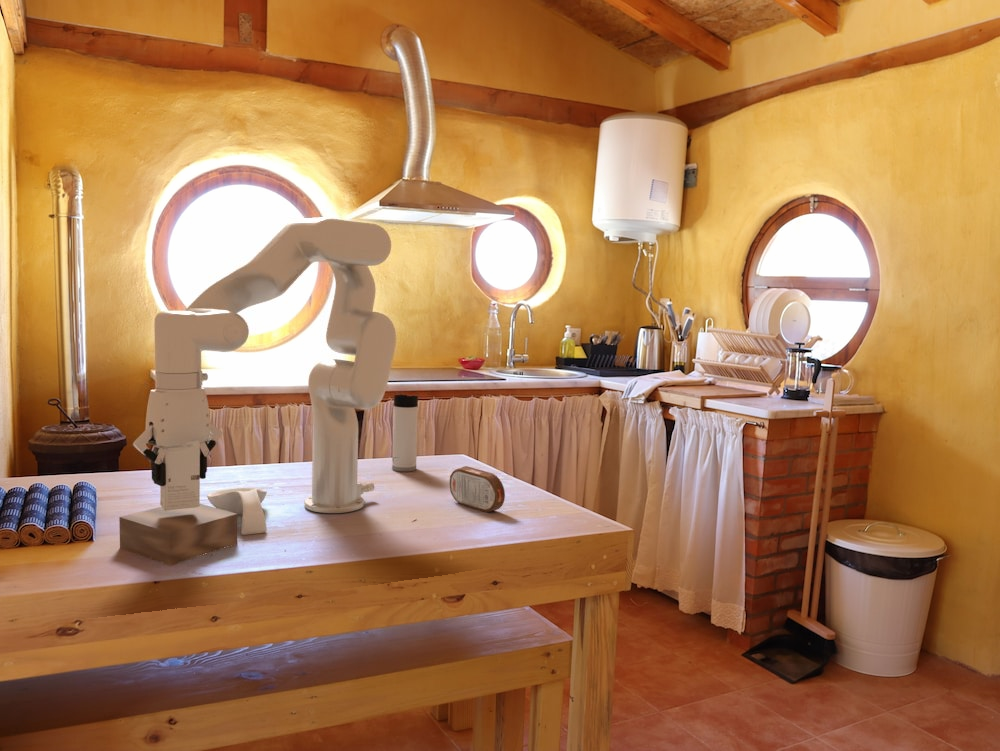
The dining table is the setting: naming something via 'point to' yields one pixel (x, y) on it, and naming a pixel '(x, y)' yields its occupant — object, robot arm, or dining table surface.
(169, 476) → the skincare box
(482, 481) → the tin
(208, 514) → the walnut block
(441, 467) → the dining table surface
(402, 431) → the travel mug
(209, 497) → the spoon rest
